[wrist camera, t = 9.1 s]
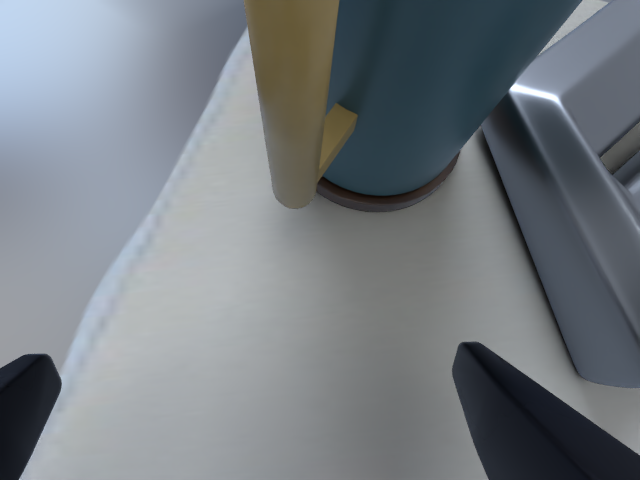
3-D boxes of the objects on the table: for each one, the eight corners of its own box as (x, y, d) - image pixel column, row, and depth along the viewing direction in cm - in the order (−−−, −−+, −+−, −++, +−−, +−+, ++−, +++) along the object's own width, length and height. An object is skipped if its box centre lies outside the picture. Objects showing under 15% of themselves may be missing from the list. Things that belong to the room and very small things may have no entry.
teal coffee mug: (321, 284, 17) (469, -115, 2) (193, 148, 19) (-168, -545, 4) (491, 126, 20) (966, -420, 6) (369, 25, 22) (503, -580, 8)
